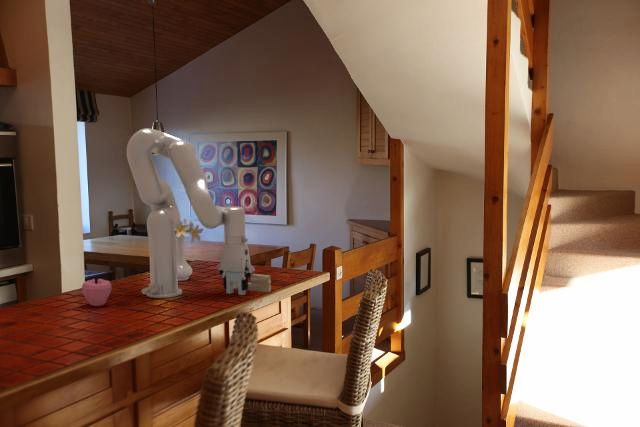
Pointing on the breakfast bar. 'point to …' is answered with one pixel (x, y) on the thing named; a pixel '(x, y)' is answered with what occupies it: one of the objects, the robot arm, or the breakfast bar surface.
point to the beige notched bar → (258, 283)
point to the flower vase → (180, 232)
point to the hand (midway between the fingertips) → (235, 288)
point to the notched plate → (232, 278)
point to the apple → (96, 291)
